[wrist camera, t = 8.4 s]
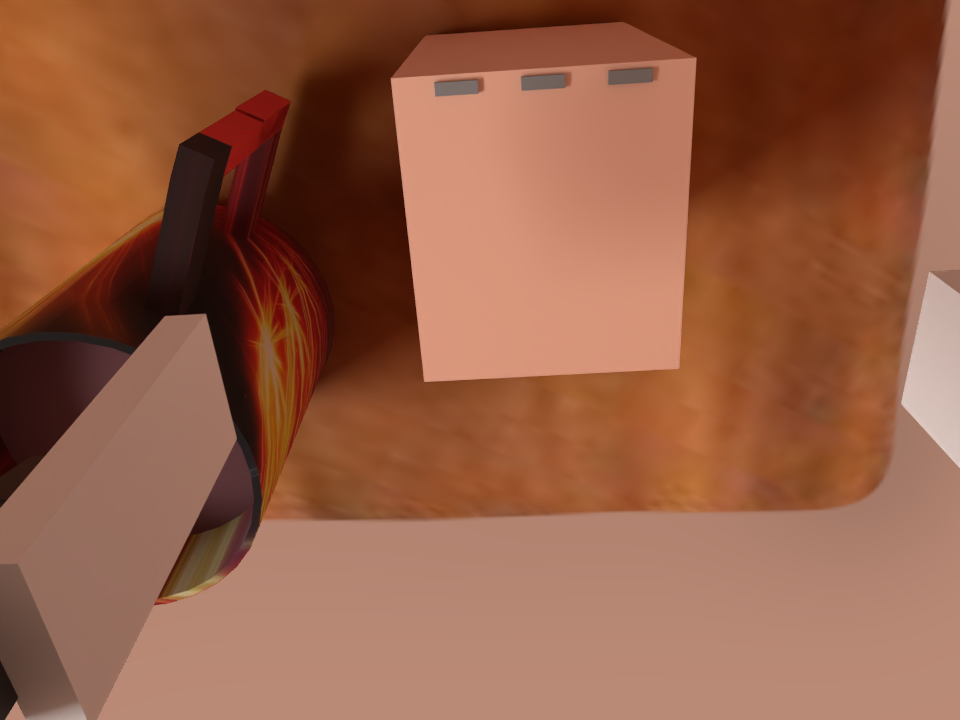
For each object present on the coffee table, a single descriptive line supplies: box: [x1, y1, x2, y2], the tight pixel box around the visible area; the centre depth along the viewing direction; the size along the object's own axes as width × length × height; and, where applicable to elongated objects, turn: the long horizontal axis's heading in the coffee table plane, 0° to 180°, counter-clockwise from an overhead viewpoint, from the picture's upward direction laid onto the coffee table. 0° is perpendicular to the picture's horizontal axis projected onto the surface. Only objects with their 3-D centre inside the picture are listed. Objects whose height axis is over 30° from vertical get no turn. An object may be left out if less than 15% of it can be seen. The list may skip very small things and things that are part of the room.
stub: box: [391, 22, 696, 382], centre depth 25 cm, size 8×7×11 cm
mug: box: [0, 90, 334, 605], centre depth 27 cm, size 10×14×12 cm
